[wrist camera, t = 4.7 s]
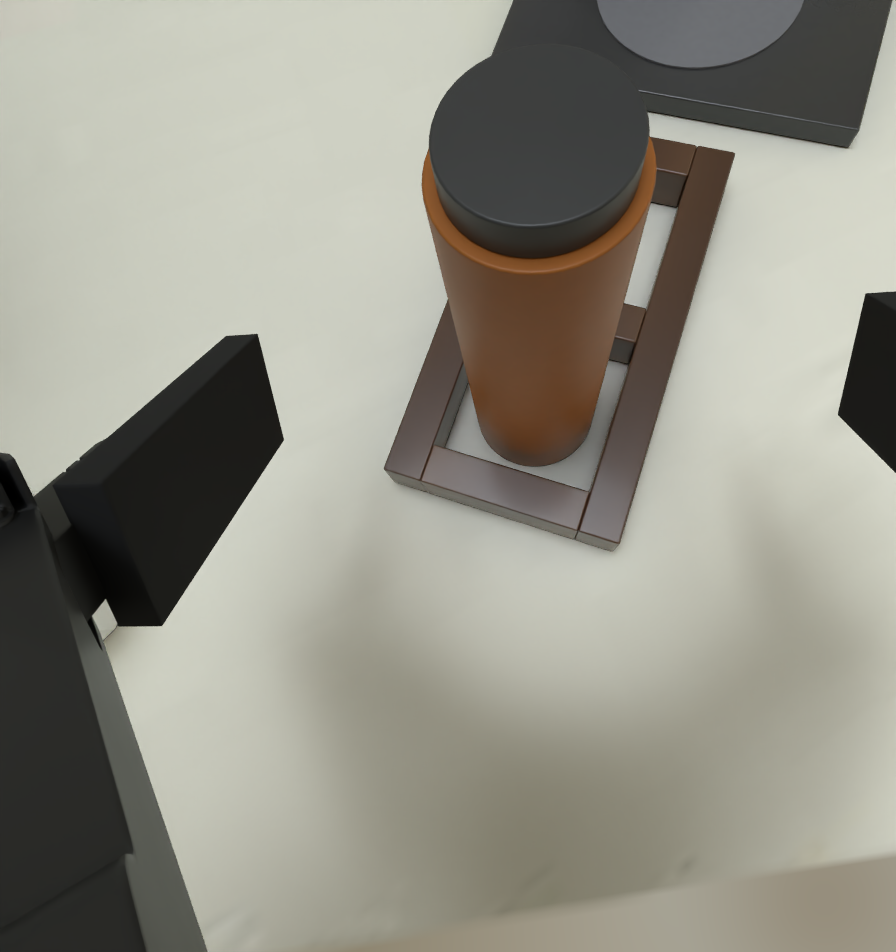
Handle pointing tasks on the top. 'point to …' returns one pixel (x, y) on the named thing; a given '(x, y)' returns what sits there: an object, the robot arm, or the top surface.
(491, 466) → the frame
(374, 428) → the top surface
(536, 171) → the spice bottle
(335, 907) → the top surface
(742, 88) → the hob plate
